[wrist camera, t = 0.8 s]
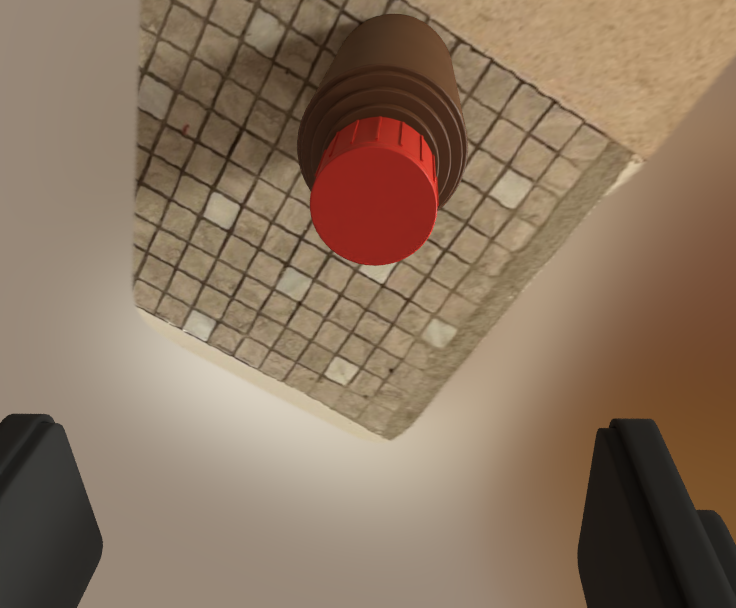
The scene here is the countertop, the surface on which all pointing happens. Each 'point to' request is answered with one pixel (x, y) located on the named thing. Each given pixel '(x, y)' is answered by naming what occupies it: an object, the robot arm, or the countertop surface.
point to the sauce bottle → (390, 95)
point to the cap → (375, 192)
